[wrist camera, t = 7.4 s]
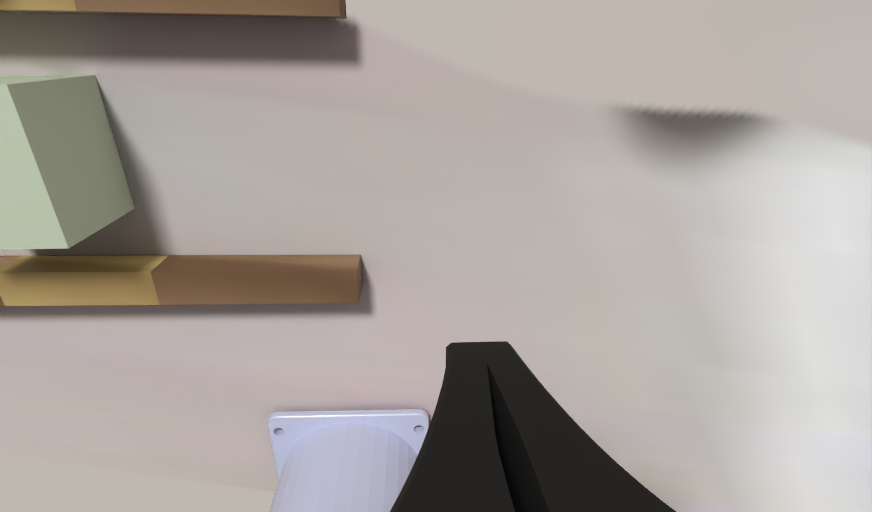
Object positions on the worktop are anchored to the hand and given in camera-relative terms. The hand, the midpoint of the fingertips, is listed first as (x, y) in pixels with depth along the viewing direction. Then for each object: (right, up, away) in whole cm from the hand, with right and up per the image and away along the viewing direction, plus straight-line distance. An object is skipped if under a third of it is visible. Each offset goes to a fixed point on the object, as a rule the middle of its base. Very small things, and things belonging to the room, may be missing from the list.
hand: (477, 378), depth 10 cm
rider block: (-16, +7, +7) cm, 18 cm away
